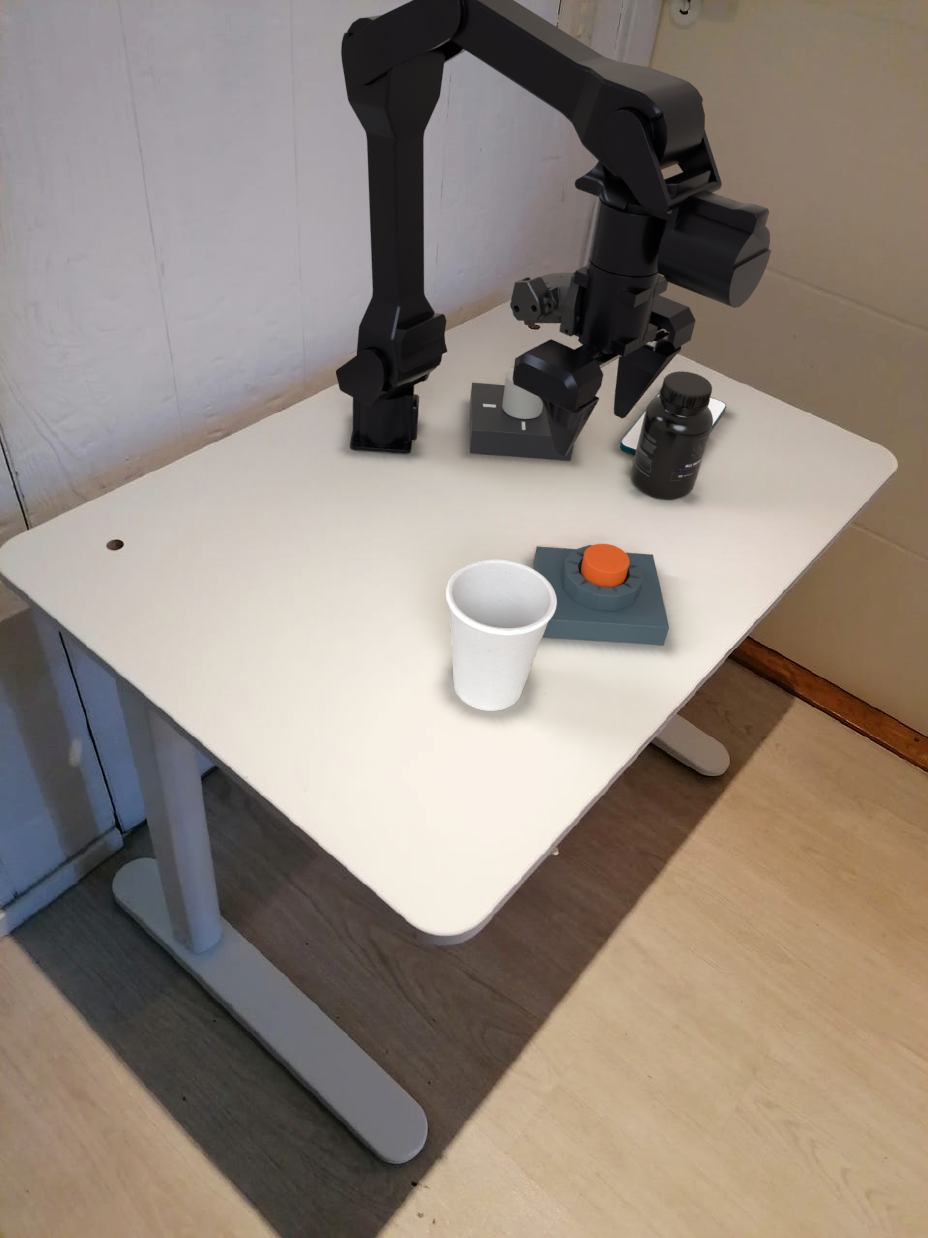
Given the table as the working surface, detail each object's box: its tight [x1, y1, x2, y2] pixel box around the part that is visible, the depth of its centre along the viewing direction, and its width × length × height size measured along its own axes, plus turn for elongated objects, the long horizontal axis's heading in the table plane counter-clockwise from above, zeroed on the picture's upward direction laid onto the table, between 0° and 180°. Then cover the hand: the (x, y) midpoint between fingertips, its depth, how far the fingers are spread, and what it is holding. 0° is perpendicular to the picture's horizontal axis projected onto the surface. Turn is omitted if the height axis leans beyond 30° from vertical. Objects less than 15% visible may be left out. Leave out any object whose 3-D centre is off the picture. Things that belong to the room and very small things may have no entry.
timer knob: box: [502, 366, 543, 419], centre depth 105 cm, size 4×4×4 cm
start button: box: [581, 543, 630, 587], centre depth 85 cm, size 4×4×2 cm
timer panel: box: [469, 382, 575, 462], centre depth 107 cm, size 11×10×3 cm
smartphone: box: [619, 391, 727, 457], centre depth 111 cm, size 8×1×16 cm
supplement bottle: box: [630, 370, 713, 501], centre depth 99 cm, size 7×7×12 cm
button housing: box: [532, 544, 670, 646], centre depth 87 cm, size 11×10×4 cm
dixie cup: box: [445, 558, 557, 712], centre depth 76 cm, size 8×8×10 cm
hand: (590, 434), depth 86 cm, fingers open, 9 cm apart
